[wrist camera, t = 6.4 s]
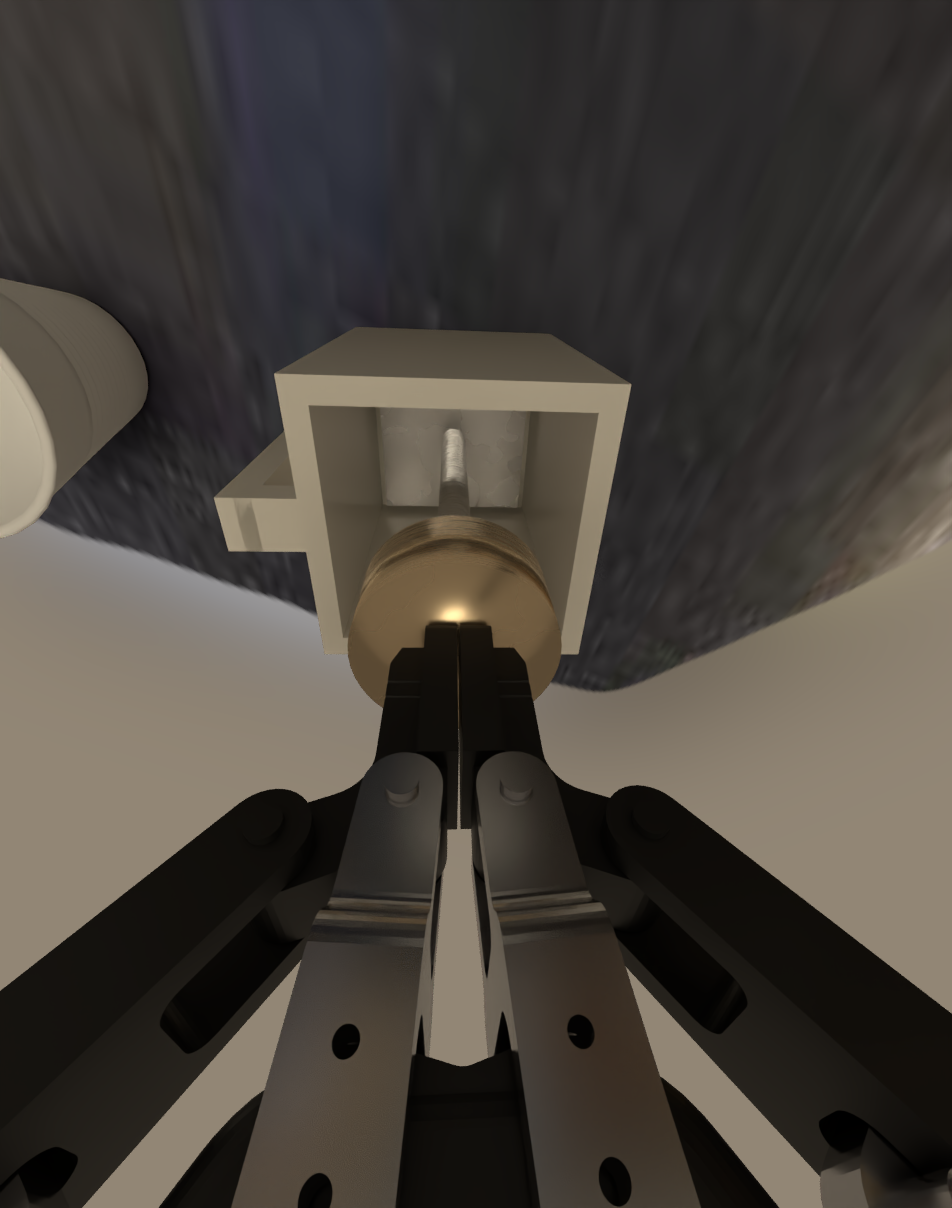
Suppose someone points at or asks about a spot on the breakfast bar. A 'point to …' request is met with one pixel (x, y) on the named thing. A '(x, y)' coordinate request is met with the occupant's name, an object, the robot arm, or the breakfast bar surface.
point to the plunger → (452, 547)
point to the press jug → (356, 463)
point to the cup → (58, 393)
